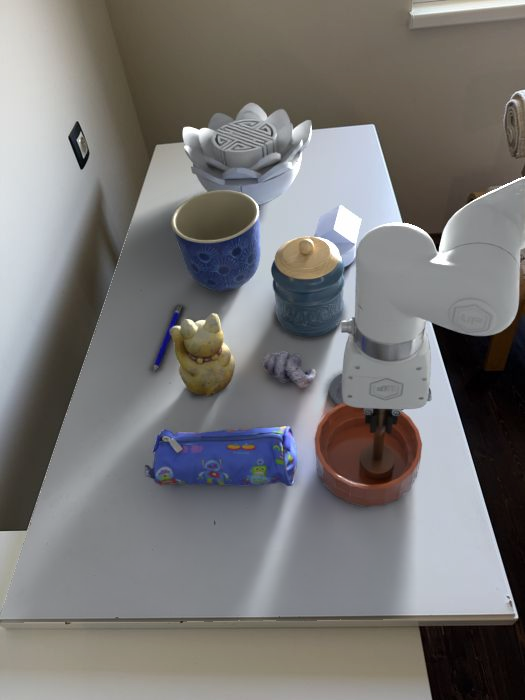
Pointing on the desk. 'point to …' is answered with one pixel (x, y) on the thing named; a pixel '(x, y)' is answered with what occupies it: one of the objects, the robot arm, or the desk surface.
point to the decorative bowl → (248, 152)
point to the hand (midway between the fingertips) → (380, 423)
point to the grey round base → (333, 390)
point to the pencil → (167, 338)
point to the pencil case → (225, 457)
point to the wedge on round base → (340, 232)
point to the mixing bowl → (344, 456)
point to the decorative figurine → (203, 355)
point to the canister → (308, 286)
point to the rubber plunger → (377, 453)
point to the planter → (219, 238)
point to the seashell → (288, 368)
